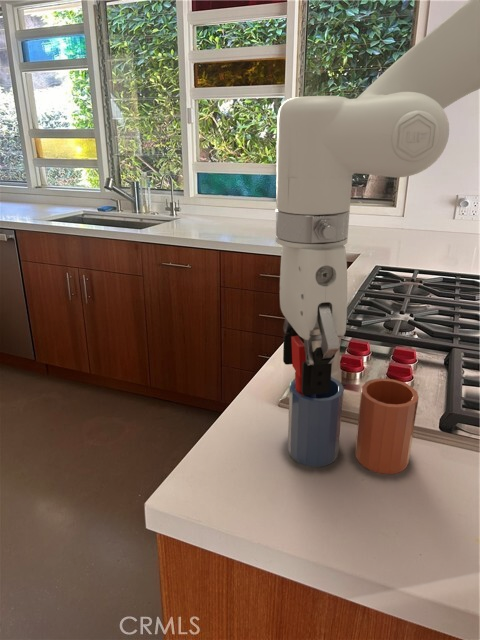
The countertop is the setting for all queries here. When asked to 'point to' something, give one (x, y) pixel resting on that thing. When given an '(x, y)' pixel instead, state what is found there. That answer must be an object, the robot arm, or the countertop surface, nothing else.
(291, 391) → the blue cup
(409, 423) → the terracotta cup
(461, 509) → the countertop surface
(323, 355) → the robot arm
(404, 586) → the countertop surface
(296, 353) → the red spatula
